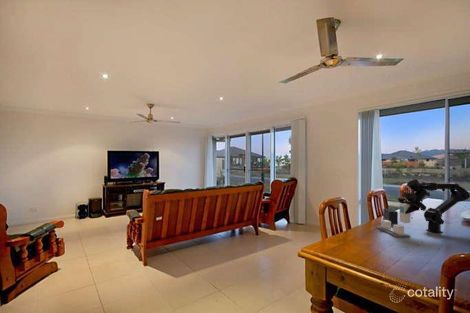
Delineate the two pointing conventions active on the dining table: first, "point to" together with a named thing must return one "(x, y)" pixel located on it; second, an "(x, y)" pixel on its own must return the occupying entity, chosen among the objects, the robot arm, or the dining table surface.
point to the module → (403, 216)
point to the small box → (390, 216)
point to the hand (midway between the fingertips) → (402, 212)
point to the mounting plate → (392, 229)
